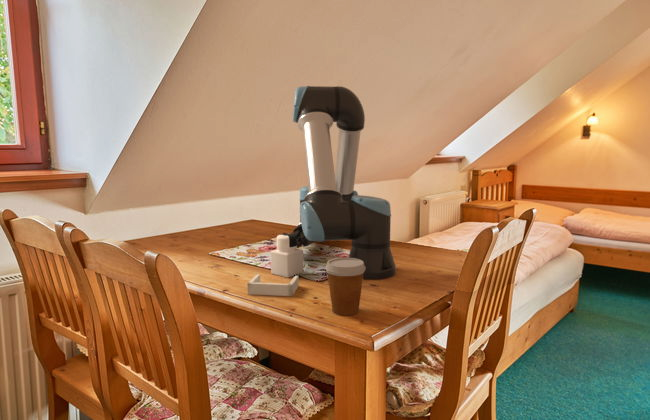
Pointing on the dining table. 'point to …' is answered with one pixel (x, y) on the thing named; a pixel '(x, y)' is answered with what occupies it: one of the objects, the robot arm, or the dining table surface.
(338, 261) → the disposable coffee cup
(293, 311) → the dining table surface
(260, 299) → the dining table surface
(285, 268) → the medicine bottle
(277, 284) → the pocket
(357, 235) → the robot arm
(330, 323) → the dining table surface
